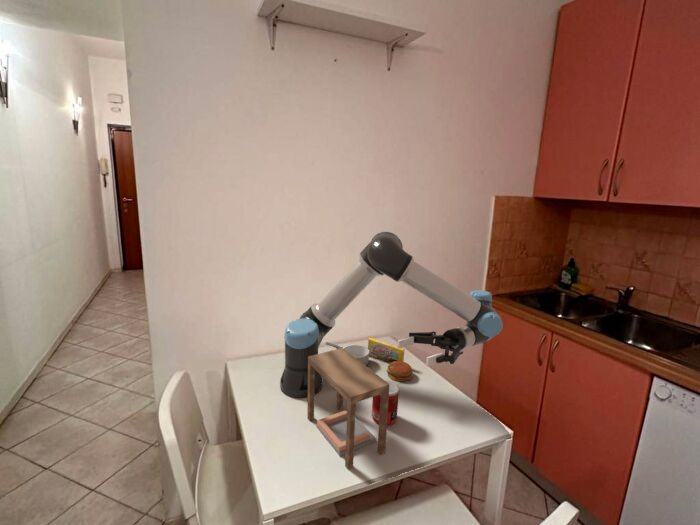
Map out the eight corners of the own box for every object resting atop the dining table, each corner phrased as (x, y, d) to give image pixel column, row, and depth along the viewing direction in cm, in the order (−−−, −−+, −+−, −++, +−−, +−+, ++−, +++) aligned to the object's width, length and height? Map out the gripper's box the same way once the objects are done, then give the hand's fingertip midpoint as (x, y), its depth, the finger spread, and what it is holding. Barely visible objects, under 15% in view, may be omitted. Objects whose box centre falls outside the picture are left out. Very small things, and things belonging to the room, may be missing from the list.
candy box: (367, 356, 155) (367, 338, 153) (369, 355, 156) (370, 337, 155) (401, 368, 146) (402, 349, 144) (403, 366, 148) (405, 347, 146)
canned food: (395, 428, 111) (398, 396, 108) (369, 424, 112) (371, 392, 110) (397, 413, 118) (400, 382, 115) (373, 409, 119) (375, 379, 117)
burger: (417, 378, 139) (418, 367, 138) (399, 385, 134) (399, 373, 133) (399, 367, 147) (400, 356, 146) (381, 373, 142) (382, 362, 141)
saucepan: (332, 349, 161) (333, 337, 159) (373, 361, 151) (374, 348, 150) (318, 359, 151) (318, 347, 150) (361, 373, 141) (361, 360, 140)
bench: (340, 406, 120) (342, 347, 115) (385, 452, 101) (389, 384, 96) (307, 418, 114) (308, 356, 109) (348, 469, 94) (351, 397, 89)
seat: (349, 414, 116) (350, 407, 116) (375, 441, 105) (376, 433, 104) (316, 426, 110) (316, 419, 109) (339, 456, 99) (340, 448, 98)
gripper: (487, 364, 117) (439, 381, 106) (431, 335, 138) (387, 348, 127) (489, 342, 116) (442, 358, 105) (433, 317, 136) (388, 327, 125)
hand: (411, 352), depth 116 cm, fingers open, 13 cm apart
